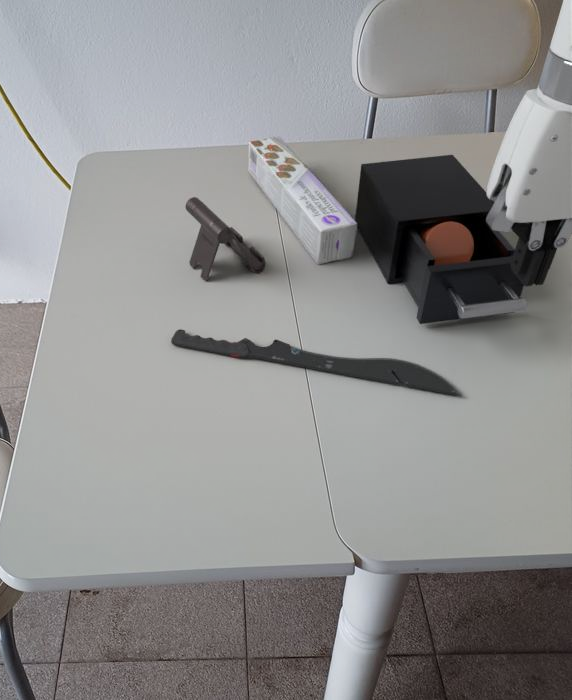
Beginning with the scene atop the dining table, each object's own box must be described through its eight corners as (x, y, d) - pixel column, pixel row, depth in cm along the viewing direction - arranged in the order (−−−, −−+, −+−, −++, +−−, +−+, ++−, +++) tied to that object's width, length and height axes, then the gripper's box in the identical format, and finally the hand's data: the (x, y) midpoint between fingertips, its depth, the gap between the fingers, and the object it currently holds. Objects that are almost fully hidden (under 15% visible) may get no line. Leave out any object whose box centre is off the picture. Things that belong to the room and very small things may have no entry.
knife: (462, 372, 69) (464, 368, 69) (461, 400, 66) (462, 396, 66) (182, 323, 77) (181, 319, 76) (169, 346, 74) (169, 342, 74)
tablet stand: (266, 271, 84) (266, 215, 78) (213, 291, 82) (209, 234, 76) (232, 239, 90) (231, 185, 84) (182, 257, 87) (176, 202, 82)
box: (354, 257, 86) (359, 220, 82) (317, 266, 84) (320, 229, 81) (278, 167, 105) (278, 134, 101) (247, 173, 104) (246, 140, 100)
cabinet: (484, 272, 82) (502, 209, 76) (387, 284, 81) (398, 221, 75) (439, 213, 93) (452, 154, 87) (354, 223, 92) (361, 163, 86)
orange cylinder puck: (462, 220, 78) (474, 219, 75) (462, 270, 79) (474, 271, 76) (414, 224, 78) (424, 223, 75) (415, 273, 79) (425, 275, 76)
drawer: (534, 338, 71) (554, 285, 66) (434, 350, 71) (447, 298, 66) (466, 248, 85) (479, 198, 80) (382, 258, 84) (389, 208, 79)
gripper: (656, 54, 52) (579, 247, 64) (478, 69, 51) (434, 263, 63) (723, 88, 46) (624, 292, 59) (524, 106, 45) (466, 310, 57)
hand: (526, 276), depth 61 cm, fingers closed
